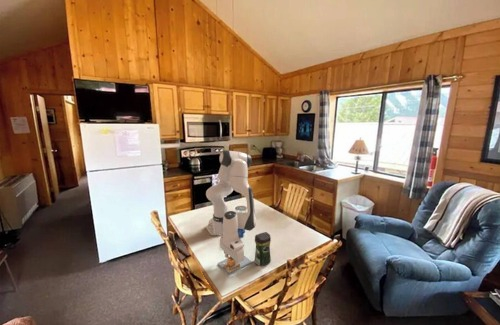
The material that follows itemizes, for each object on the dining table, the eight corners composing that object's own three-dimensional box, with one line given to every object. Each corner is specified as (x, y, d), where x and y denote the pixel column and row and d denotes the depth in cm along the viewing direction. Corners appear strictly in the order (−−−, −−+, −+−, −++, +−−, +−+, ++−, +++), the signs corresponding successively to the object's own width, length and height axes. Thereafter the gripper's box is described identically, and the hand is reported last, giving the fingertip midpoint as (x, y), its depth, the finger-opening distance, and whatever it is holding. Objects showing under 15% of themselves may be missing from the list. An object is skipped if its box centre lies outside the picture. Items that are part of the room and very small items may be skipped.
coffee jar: (264, 255, 137) (265, 229, 133) (272, 262, 130) (273, 234, 127) (252, 260, 132) (252, 233, 128) (259, 268, 125) (260, 239, 122)
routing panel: (217, 264, 128) (217, 263, 128) (240, 253, 139) (240, 252, 139) (228, 275, 119) (228, 273, 119) (251, 262, 130) (251, 261, 130)
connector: (226, 264, 125) (227, 256, 123) (232, 262, 128) (233, 253, 125) (230, 269, 122) (231, 261, 120) (235, 266, 125) (237, 258, 122)
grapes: (242, 236, 160) (242, 221, 158) (246, 240, 154) (246, 225, 152) (228, 240, 154) (228, 225, 152) (232, 245, 148) (232, 229, 146)
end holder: (223, 266, 125) (222, 263, 124) (233, 261, 130) (233, 257, 129) (229, 273, 120) (229, 269, 119) (240, 267, 124) (240, 263, 124)
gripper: (216, 234, 127) (217, 254, 130) (236, 249, 112) (236, 272, 115) (225, 230, 131) (225, 250, 134) (245, 245, 116) (245, 267, 119)
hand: (231, 261), depth 124 cm, fingers open, 8 cm apart
